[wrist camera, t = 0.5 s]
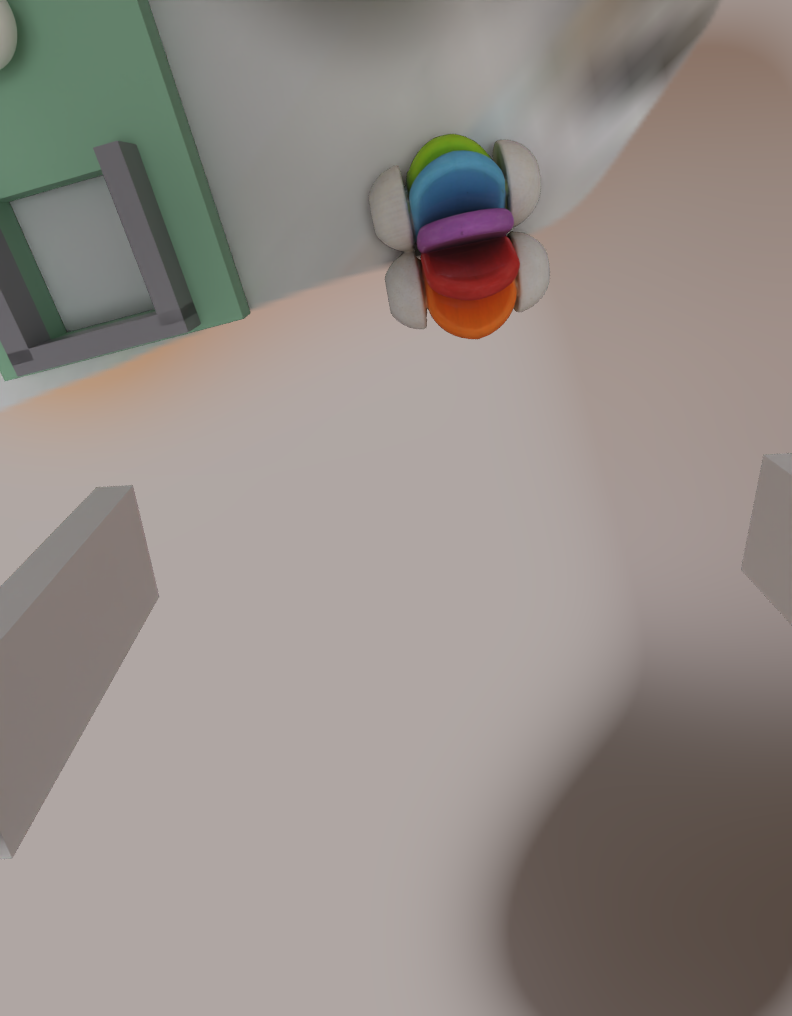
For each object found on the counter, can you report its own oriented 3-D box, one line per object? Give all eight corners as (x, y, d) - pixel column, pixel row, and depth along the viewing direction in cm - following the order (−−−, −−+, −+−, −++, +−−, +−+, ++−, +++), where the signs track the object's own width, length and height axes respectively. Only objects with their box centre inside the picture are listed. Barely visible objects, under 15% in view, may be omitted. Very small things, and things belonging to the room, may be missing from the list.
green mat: (-230, -152, 30) (-270, -174, 28) (63, -257, 29) (40, -287, 27) (22, 372, 40) (4, 381, 38) (250, 313, 38) (243, 318, 36)
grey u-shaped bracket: (-40, 195, 34) (-71, 195, 32) (136, 144, 33) (117, 140, 31) (40, 366, 38) (17, 377, 35) (200, 323, 37) (188, 332, 34)
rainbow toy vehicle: (396, 341, 39) (397, 371, 33) (361, 156, 35) (354, 146, 29) (543, 312, 39) (574, 336, 32) (524, 120, 35) (555, 102, 28)
